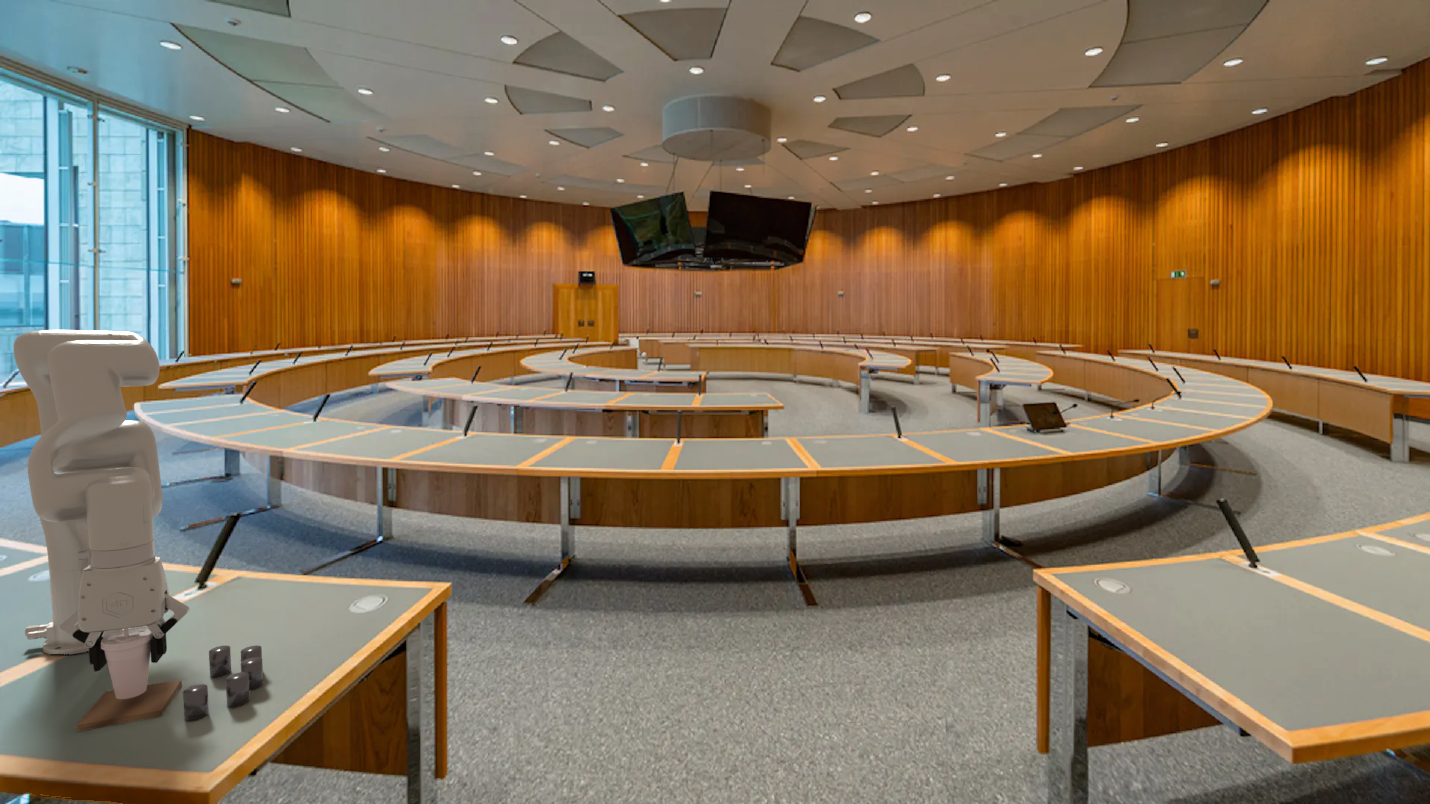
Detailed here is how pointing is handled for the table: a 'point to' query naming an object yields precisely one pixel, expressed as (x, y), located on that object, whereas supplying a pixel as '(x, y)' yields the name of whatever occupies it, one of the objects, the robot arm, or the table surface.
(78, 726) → the walnut pad
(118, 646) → the smoothie
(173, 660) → the table surface
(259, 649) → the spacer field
